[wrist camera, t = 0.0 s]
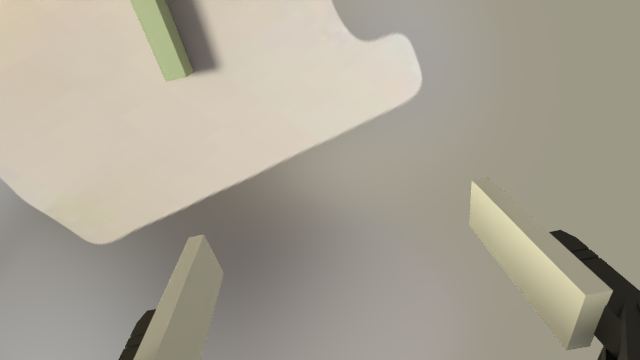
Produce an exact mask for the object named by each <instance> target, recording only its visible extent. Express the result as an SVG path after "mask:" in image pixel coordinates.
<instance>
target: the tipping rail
mask: <svg viewBox="0 0 640 360" xmlns="http://www.w3.org/2000/svg"><path fill="white" fill-rule="evenodd" d="M130 2H131V4H132V6H133V8H134V11H135V13H136V15H137V17H138V20H139V22H140V24H141V26H142V29H143V31H144V33H145V35H146V38H147V40H148V42H149V44H150V47H151V49H152V51H153V54H154V56H155V58H156V60H157V63H158V65H159V67H160V69H161V72H162V74H163V76H164V78H165V81H171V80H175V79H180V78H184V77H187V76H189V75H190V74H191V73H193V72H194V71H193V68H192V66H191V63H190V60H189V58H188V55H187V53H186V50H185V48H184V45H183V43H182V40H181V37H180V35H179V32H178V30H177V27H176V25H175V22H174V20H173V17H172V14H171V12H170V9H169V7H168V4H167V2H166V0H130Z"/></svg>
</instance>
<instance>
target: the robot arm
mask: <svg viewBox="0 0 640 360" xmlns="http://www.w3.org/2000/svg"><path fill="white" fill-rule="evenodd" d="M469 225H470V227H471V228H472V229H473V231H474V232H475V233H476V235H477V236H478V237H479V238H480V240H481V241H482V242H483V244H484V245H485V246H486V248H487V249H488V250H489V251H490V253H491V254H492V255H493V256H494V258H495V259H496V260H497V262H498V263H499V264H500V265H501V267H502V268H503V269H504V271H505V272H506V273H507V275H508V276H509V277H510V278H511V280H512V281H513V282H514V283H515V285H516V286H517V287H518V289H519V290H520V291H521V293H522V294H523V295H524V296H525V298H526V299H527V300H528V302H529V303H530V304H531V305H532V307H533V308H534V309H535V311H536V312H537V313H538V315H539V316H540V317H541V318H542V320H543V321H544V322H545V323H546V325H547V326H548V327H549V329H550V330H551V331H552V333H553V334H554V335H555V336H556V338H557V339H558V340H559V342H560V343H561V344H562V345H563V347H564V348H565V349H566V350H571V349H576V348H582V347H588V346H590V344H591V342H592V339H593V337H594V335H595V336H596V337H597V338H598V340H599V341H600V342H601V343H602V344H603V345H604V346H603V348H602V351H601V353H600V355H599V357H598V360H640V291H639V290H638V289H637V288H636V287H634V286H633V285H632V284H631V283H630V282H628V281H627V280H626V279H625V278H624V277H623V276H621V275H620V274H619V273H618V272H616V271H615V270H614V269H613V268H612V267H611V266H609V265H608V264H607V263H606V262H605V261H604V260H602V259H601V258H599V257H598V255H596V254H595V253H594V252H593V251H592V250H589V249H588V247H587V246H586V245H585V244H583V243H582V242H581V241H580V240H579V239H577V238H576V237H574V236H572V235H570V234H568V233H566V232H564V231H562V230H558V231H553V232H548V231H547V230H546V229H545V228H544V227H543V226H541V225H540V224H539V223H538V222H537V221H536V220H535V219H534V218H533V217H532V216H531V215H529V214H528V213H527V212H526V211H525V210H524V209H523V208H522V207H521V206H519V205H518V204H517V203H516V202H515V201H514V200H513V199H512V198H510V196H508V195H507V194H506V193H505V192H504V191H503V190H502V189H501V188H500V187H499V186H498V185H496V184H495V183H494V182H493V181H492V180H491V179H490V178H489V177H486V178H481V179H476V180H472V189H471V206H470V222H469ZM222 278H223V271H222V270H221V267H220V266H219V263H218V262H217V260H216V258H215V256H214V254H213V252H212V250H211V248H210V246H209V244H208V242H207V240H206V238H205V236H204V235H200V236H195V237H190V238H189V239H188V241H187V243H186V245H185V247H184V249H183V252H182V254H181V256H180V258H179V261H178V263H177V265H176V267H175V269H174V271H173V274H172V276H171V278H170V280H169V282H168V285H167V287H166V289H165V291H164V294H163V296H162V298H161V300H160V302H159V304H158V307H157V309H154V310H149V311H147V312H146V313H145V314H144V315H143V316H142V317H141V319H140V320H139V321H138V322H137V324H136V326H135V328H134V330H133V332H132V334H131V338H129V340H128V342H127V344H126V346H125V349H124V350H123V352H122V354H121V356H120V358H119V360H201V357H202V353H203V350H204V346H205V342H206V338H207V334H208V331H209V327H210V323H211V319H212V316H213V311H214V308H215V304H216V300H217V297H218V293H219V289H220V285H221V282H222Z"/></svg>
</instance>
